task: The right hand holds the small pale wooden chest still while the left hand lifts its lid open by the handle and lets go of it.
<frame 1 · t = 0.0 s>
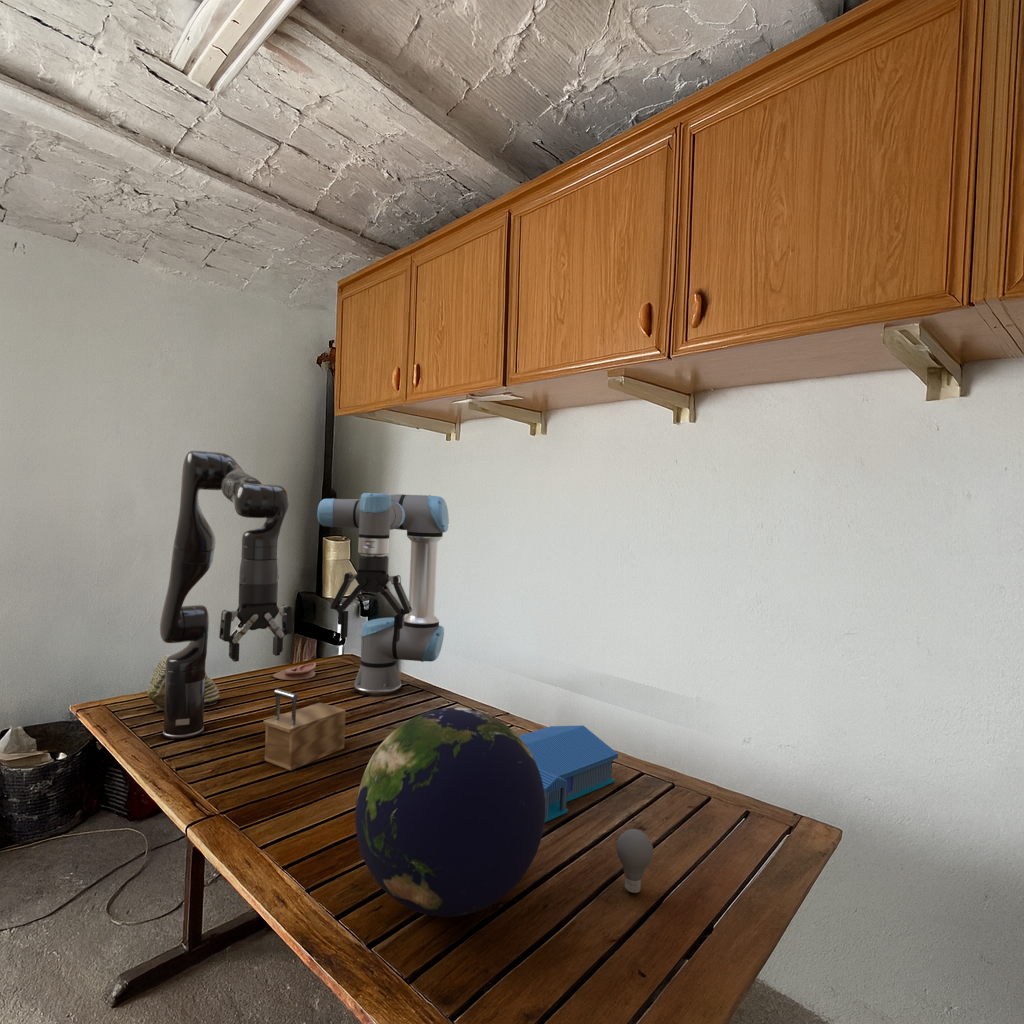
left hand: (256, 657, 132), 29 cm above the table, tool pointing down, fingers open, 8 cm apart
right hand: (370, 639, 158), 28 cm above the table, tool pointing down, fingers open, 13 cm apart
anatomical model: (294, 676, 220), on the table
fossil: (183, 706, 185), on the table
globe: (447, 900, 101), on the table
chest: (305, 754, 155), on the table
light bulb: (632, 891, 106), on the table
lid: (306, 702, 155), point 13 cm above the table, hinge at 0.0°
model building: (527, 791, 141), on the table
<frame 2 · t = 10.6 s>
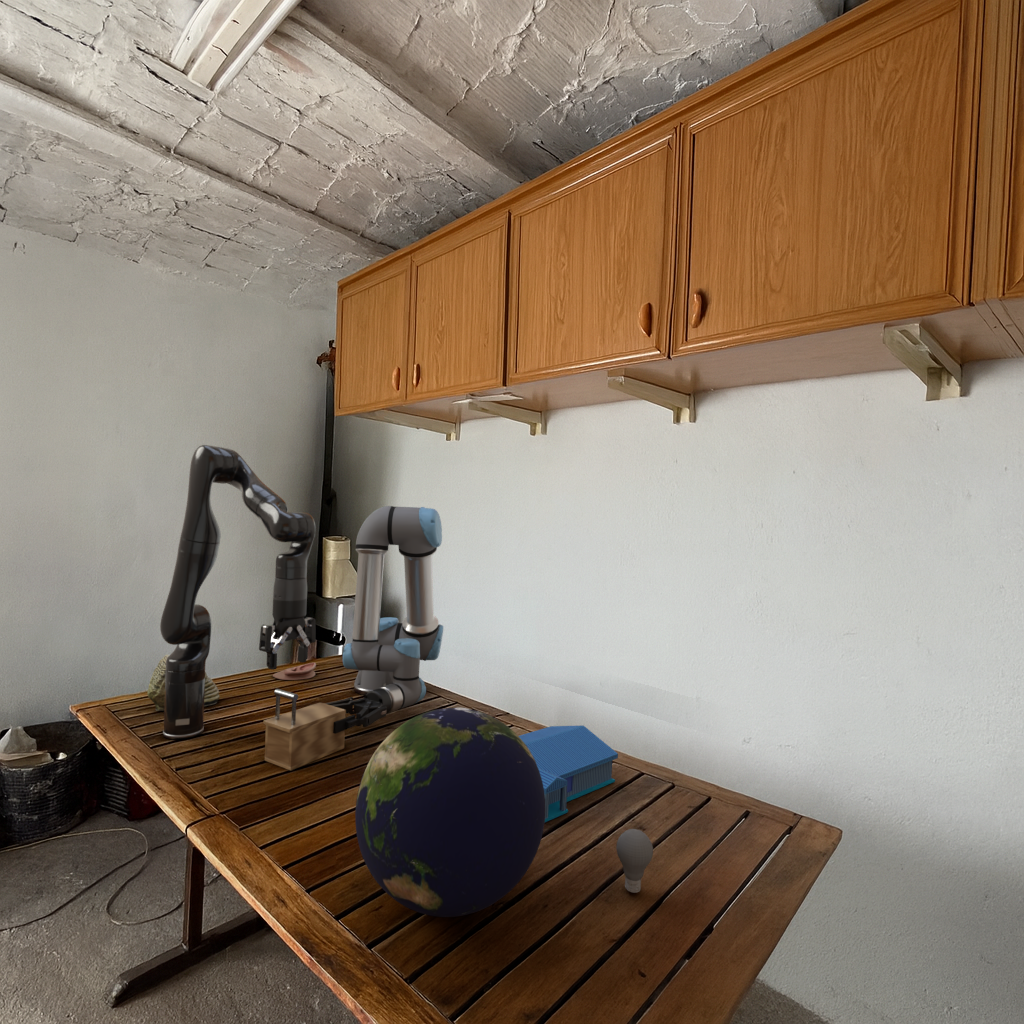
left hand: (287, 665, 149), 23 cm above the table, tool pointing down, fingers open, 8 cm apart
right hand: (320, 723, 159), 6 cm above the table, tool horizontal, fingers closed on chest, 9 cm apart
chest: (305, 754, 155), on the table, touching right hand
everything else where it was.
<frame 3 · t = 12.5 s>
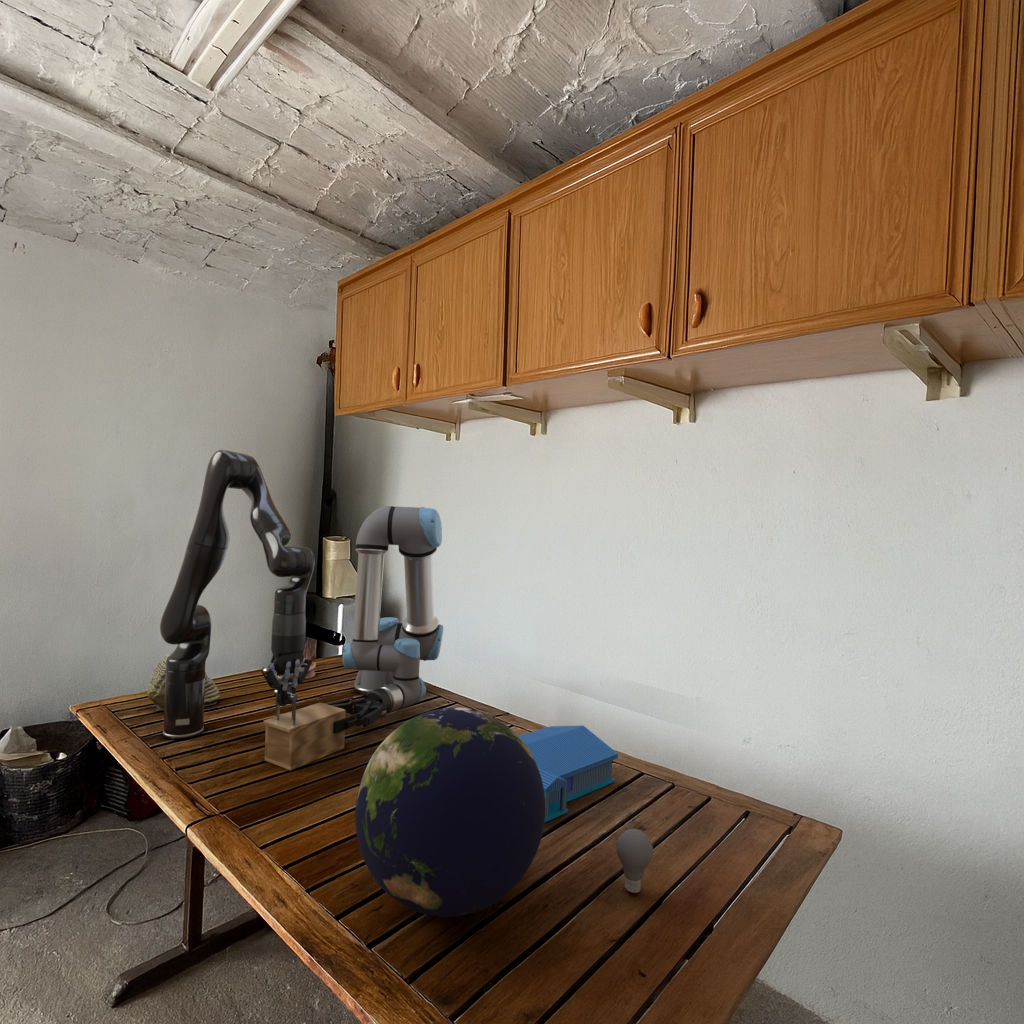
left hand: (286, 703, 149), 14 cm above the table, tool pointing down, fingers closed
right hand: (320, 723, 159), 6 cm above the table, tool horizontal, fingers closed on chest, 9 cm apart
chest: (305, 754, 155), on the table, touching right hand
lid: (306, 702, 155), point 13 cm above the table, hinge at -0.1°, touching left hand
everything else where it was.
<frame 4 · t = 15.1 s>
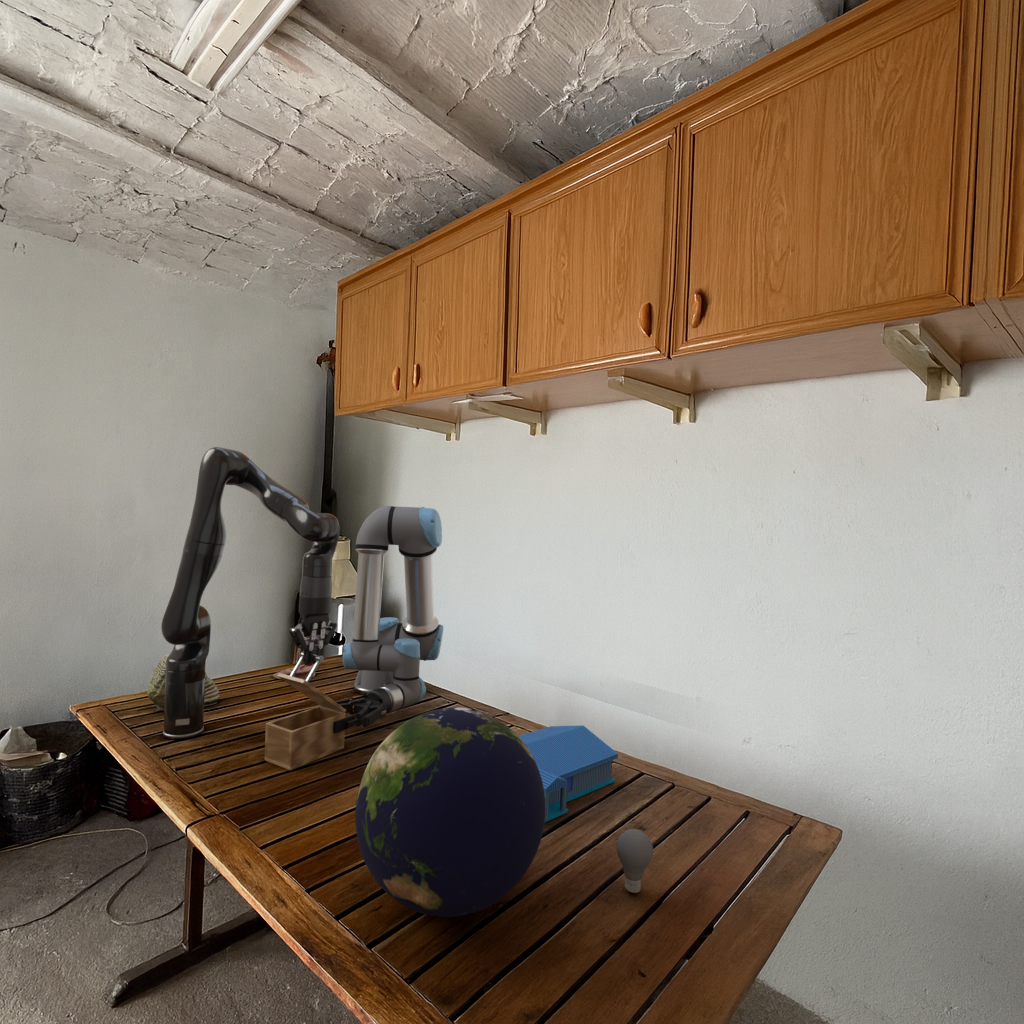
left hand: (311, 664, 155), 22 cm above the table, tool pointing down, fingers closed
right hand: (320, 723, 159), 6 cm above the table, tool horizontal, fingers closed on chest, 9 cm apart
chest: (305, 754, 155), on the table, touching right hand
lid: (319, 679, 158), point 18 cm above the table, hinge at 38.1°, touching left hand
everything else where it was.
when the right hand's fingers open (6 cm above the table, at t = 21.5 s): chest stays where it is, on the table.
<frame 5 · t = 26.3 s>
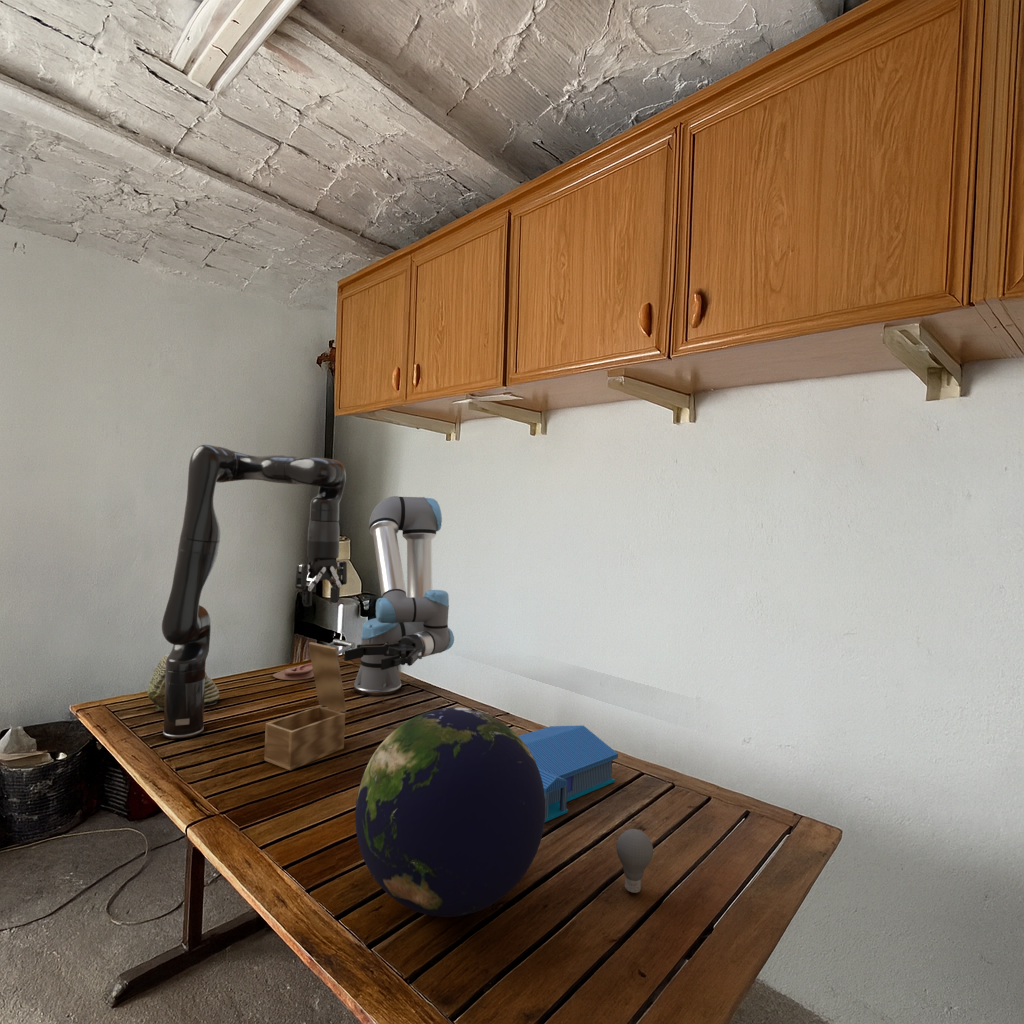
left hand: (321, 604, 157), 37 cm above the table, tool pointing down, fingers open, 8 cm apart
right hand: (363, 660, 170), 20 cm above the table, tool horizontal, fingers open, 13 cm apart
chest: (305, 754, 155), on the table
lid: (338, 670, 163), point 19 cm above the table, hinge at 76.0°
everything else where it was.
at the end: lid at +76° (first picture: +0°); the left hand is holding nothing; the right hand is holding nothing; chest tilted 0°; chest never tilted more than 1° during the clip; chest moved 0.1 cm from its start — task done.
